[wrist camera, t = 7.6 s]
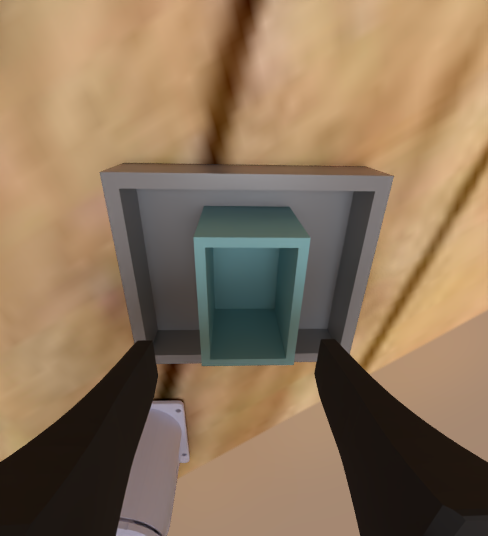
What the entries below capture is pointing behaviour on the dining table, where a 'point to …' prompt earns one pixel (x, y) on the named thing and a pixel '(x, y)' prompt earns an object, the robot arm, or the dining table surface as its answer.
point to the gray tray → (241, 194)
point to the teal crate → (249, 284)
